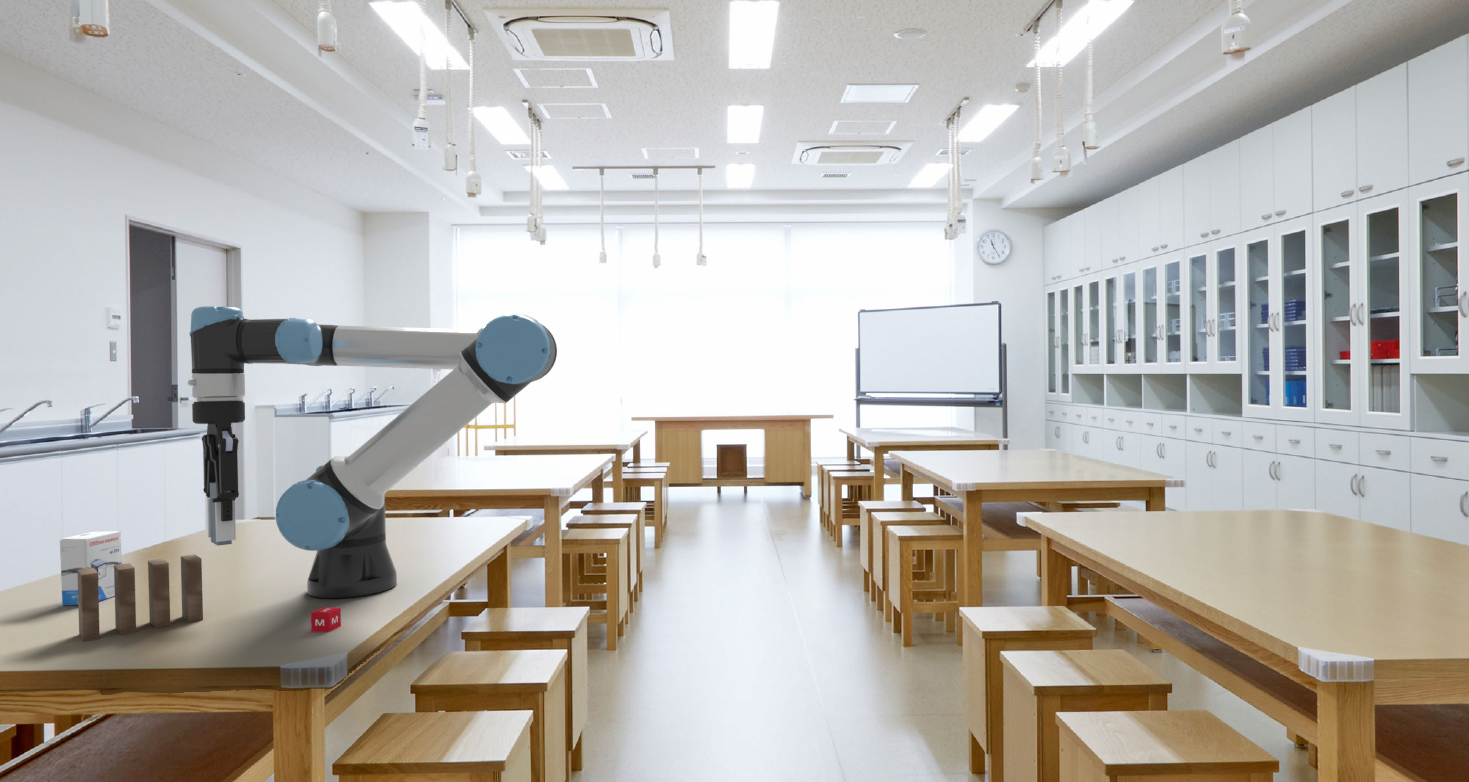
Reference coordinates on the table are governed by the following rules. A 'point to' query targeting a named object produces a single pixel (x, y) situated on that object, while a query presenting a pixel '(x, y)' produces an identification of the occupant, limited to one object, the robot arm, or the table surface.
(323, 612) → the red letter cube
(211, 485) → the domino
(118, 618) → the domino
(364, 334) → the robot arm
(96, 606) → the end domino
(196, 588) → the domino
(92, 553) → the ink box
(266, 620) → the table surface
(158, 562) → the domino
